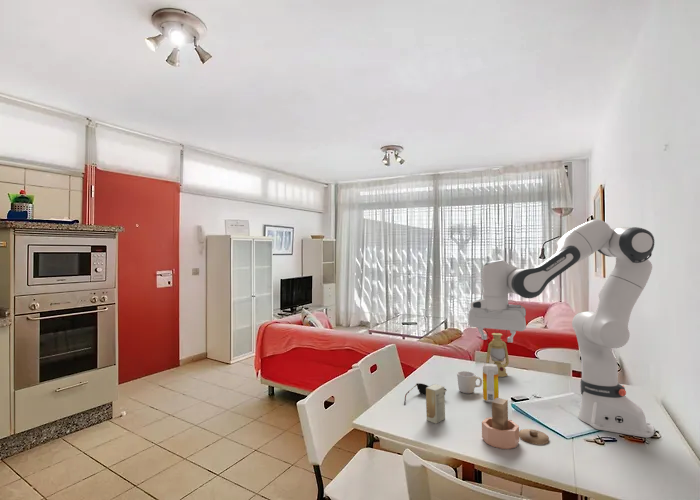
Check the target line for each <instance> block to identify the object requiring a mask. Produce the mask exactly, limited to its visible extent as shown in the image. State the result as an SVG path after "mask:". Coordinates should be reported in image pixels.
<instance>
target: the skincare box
mask: <svg viewBox="0 0 700 500" xmlns="http://www.w3.org/2000/svg"><path fill="white" fill-rule="evenodd" d="M428 386H429V385H428ZM444 388H445V386H444V385H441V384H437V383H434V384H431V385H430V386H429V387H427V388H426V395H425V396H426V397H425V404H426V407H425V408H426V421H428V422H430V423H433V424H436V425H437V424H438V423H439V422H442V421H444V420H445V419H446V404H445V403H446V401H445V399H446V398H445V396H446V392H444Z"/></svg>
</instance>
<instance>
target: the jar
mask: <svg viewBox="0 0 700 500" xmlns="http://www.w3.org/2000/svg"><path fill="white" fill-rule="evenodd" d="M519 431H520V426H519V424H517V423H516V422H515V421H513V420H512V419H510V418H508V430H499V429H495V428H492V416H491V417H485V418H484V420H482V422H481V438H482V439H483V440H482V441H484V443H486V444H487V445H489V446H490V447H494V448H497V449H499V450H500V449H501V450H511V449H516V448H517V447H518V446H519V442H520V437H519Z"/></svg>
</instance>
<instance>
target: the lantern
mask: <svg viewBox="0 0 700 500" xmlns="http://www.w3.org/2000/svg"><path fill="white" fill-rule="evenodd" d="M484 329H485V332H486V333H485V334H487V337H489V334H488V331H487V328H484ZM507 331H508V330H506V331H505V333H507ZM491 335H492V337H493V338H492V340H491V341H490V342H489V341H488V339H489V338H487V339H486V340H487V341H486V345H487V346H488V347H487V350H486V351H487V352H486V359H485V360H486V361H485V362H486V363H490V360H491V361H492V362H494V363H493V364H496V365H497V367H498V378H500V377H501V378H502V377H507V376H508V373H507V369H506V367H508V366H509V363H510V357H509V353H508V348H507V346H508V343H509V342H508V339H507V338H505V339H506V342H507V343H506V342H505V341H503V339H502V336H503V334H502V333H500V332H499V331H498V332H496V331H494V332H492V333H491ZM488 342H489V343H488ZM504 360H505V363H504V364H503V362H504Z"/></svg>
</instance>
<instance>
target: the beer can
mask: <svg viewBox="0 0 700 500" xmlns="http://www.w3.org/2000/svg"><path fill="white" fill-rule="evenodd" d="M482 398H483V401H485V403H489V404H492V402H493V401H494V400H495V399H496V398H500V396H499V377H498V367H497V365H496V364H494V363H491V362H489V363H483V365H482Z"/></svg>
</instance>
